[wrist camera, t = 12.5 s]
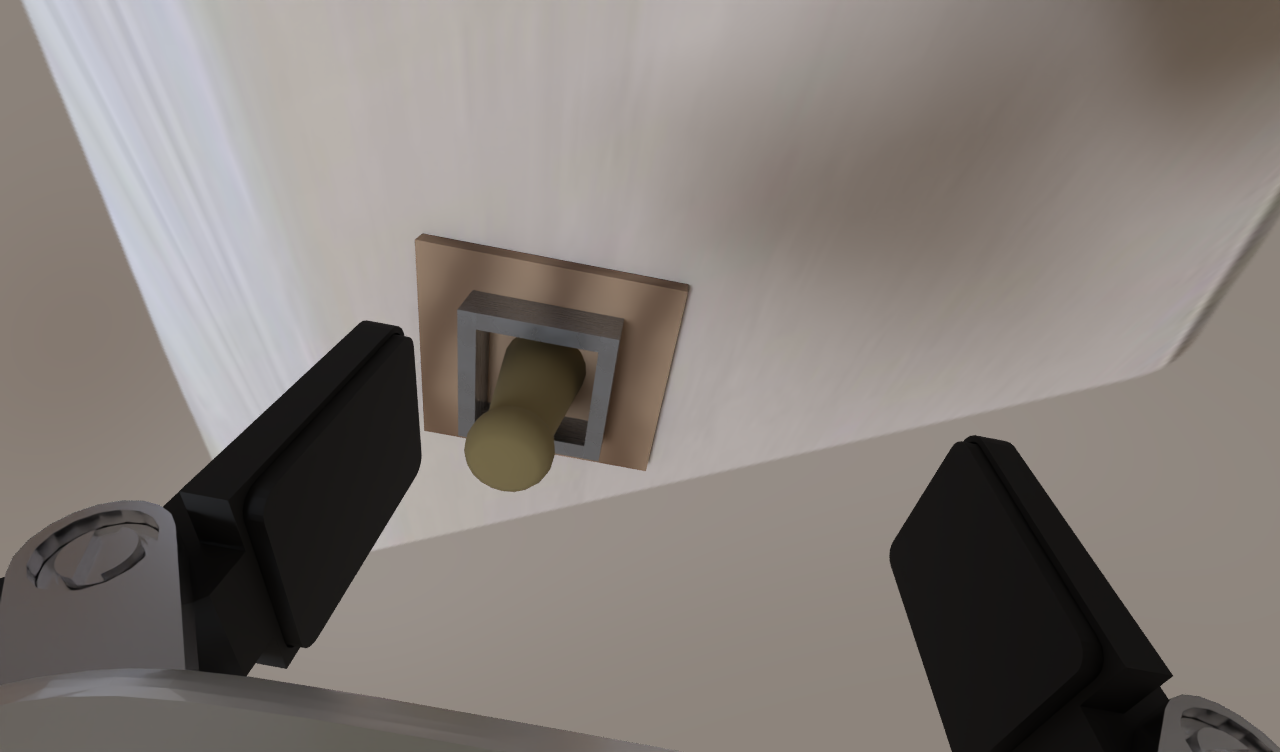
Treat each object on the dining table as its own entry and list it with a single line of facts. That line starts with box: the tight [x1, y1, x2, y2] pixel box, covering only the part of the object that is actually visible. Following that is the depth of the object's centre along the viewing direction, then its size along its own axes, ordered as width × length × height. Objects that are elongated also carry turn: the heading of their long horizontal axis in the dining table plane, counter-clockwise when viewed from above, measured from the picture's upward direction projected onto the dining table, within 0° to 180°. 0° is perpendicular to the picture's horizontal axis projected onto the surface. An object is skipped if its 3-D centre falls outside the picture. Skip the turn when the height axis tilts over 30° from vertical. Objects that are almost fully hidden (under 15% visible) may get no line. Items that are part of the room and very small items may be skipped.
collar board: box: [415, 234, 688, 471], centre depth 42 cm, size 18×16×1 cm
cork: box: [464, 337, 586, 492], centre depth 37 cm, size 6×6×11 cm
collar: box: [457, 290, 624, 462], centre depth 40 cm, size 10×10×3 cm
